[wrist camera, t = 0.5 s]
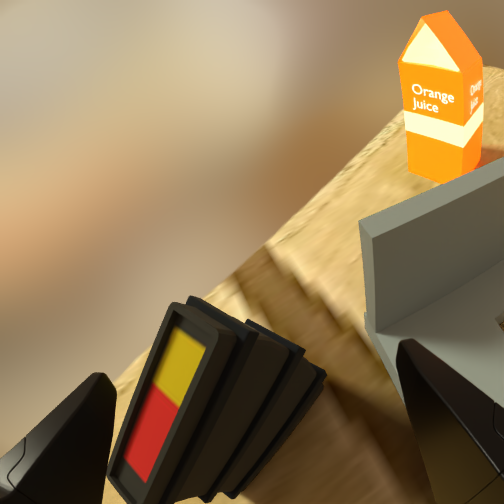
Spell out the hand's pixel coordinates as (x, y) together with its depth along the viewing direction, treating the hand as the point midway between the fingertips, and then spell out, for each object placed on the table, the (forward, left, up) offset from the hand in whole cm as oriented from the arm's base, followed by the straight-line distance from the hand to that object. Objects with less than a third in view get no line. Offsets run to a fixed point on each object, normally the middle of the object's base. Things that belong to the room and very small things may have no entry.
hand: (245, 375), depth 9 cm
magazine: (+2, +4, -16) cm, 17 cm away
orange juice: (+23, -28, -16) cm, 40 cm away
